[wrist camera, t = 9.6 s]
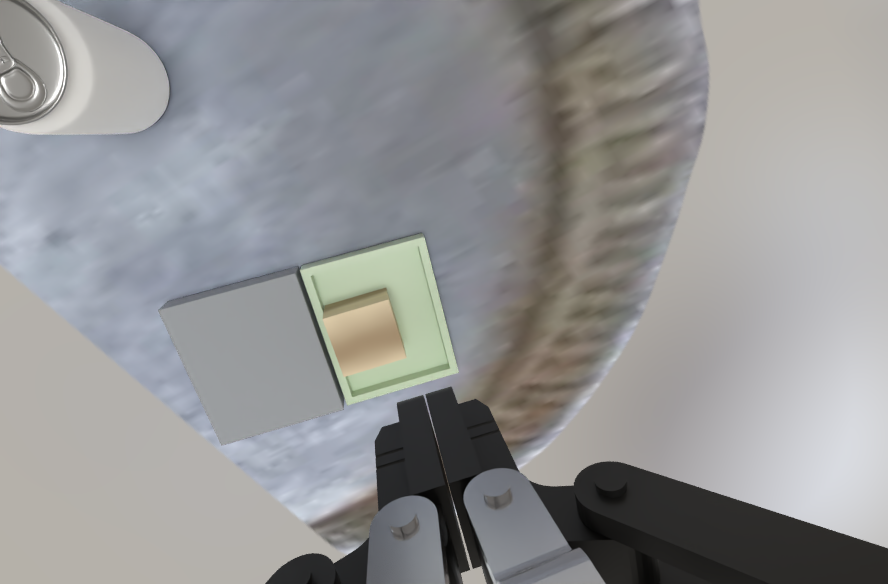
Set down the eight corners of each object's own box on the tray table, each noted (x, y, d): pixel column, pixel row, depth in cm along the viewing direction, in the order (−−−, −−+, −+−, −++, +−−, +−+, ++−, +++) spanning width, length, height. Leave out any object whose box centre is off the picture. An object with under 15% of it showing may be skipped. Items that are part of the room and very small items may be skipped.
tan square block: (324, 305, 39) (322, 319, 36) (386, 287, 39) (388, 299, 36) (344, 360, 41) (343, 377, 38) (403, 342, 41) (406, 357, 38)
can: (109, 150, 34) (-16, 161, 22) (39, 56, 31) (-138, 15, 20) (192, 106, 34) (110, 93, 22) (129, 8, 31) (2, -60, 20)
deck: (167, 301, 37) (157, 310, 35) (298, 266, 38) (295, 273, 36) (227, 431, 41) (221, 445, 40) (344, 397, 42) (343, 409, 40)
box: (302, 265, 38) (299, 270, 37) (421, 233, 39) (424, 236, 38) (347, 396, 42) (347, 405, 41) (455, 364, 43) (458, 372, 42)
